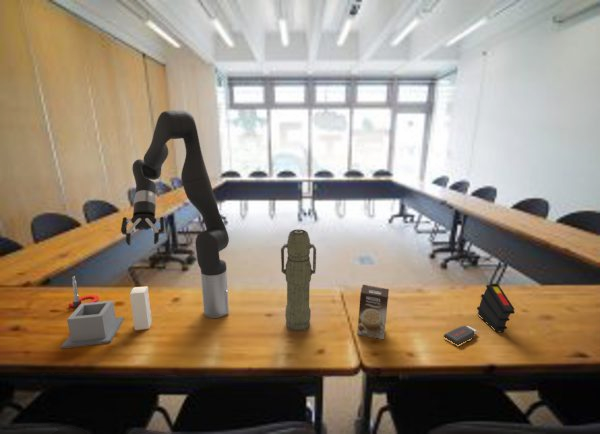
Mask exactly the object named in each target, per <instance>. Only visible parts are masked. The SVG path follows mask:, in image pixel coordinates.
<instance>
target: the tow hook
mask: <svg viewBox="0 0 600 434" xmlns="http://www.w3.org/2000/svg"><path fill="white" fill-rule="evenodd" d="M71 284H72V289H73V301H72V302H70V303H68V307H69V308H76V309H77V308H78V307H79V306H80V304H81V303H82V301H83V300H87V299H92V300H90V301H88V302H86V303H92V302H99V300H100V297H99V296H98V295H95V294H94V295H93V294H90V295H85V296H81V297H80V295H79V294H78V287H77V286H78V285H77V280H76V276H75V275H73V276H72V282H71Z"/></svg>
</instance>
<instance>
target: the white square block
mask: <svg viewBox="0 0 600 434" xmlns="http://www.w3.org/2000/svg"><path fill="white" fill-rule="evenodd" d="M129 299H130V305H131V311H132V313H131V314H132V320H133V327H134V331H140V330H149V329H150V326H151V324H152V322H153V320H152V313H151V304H150V295H149V287H148V286H147V285H146V286H137V287H135V286H134V287H133V288H132V289H131V291H130V293H129Z"/></svg>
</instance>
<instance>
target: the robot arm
mask: <svg viewBox="0 0 600 434" xmlns="http://www.w3.org/2000/svg"><path fill="white" fill-rule="evenodd" d="M194 118H195V117H194V116H193V115H192V113H191V112H190V111H189V110H164V111H162V112H161V113H160V114H159V116H158V118H157V121H156V124H155V128H154V130H153V134H152V139H151V143H150V145H149V147H148V149H146V151H145V152H146V153H144V155H143V159H140V158H138V159H136V160H135V161H134V162H133V164H132V167H131V168H132V175H133V177H134V181H135V194H134V200H133V210H132V211H133V212H132V218H127V217H125V216H124V217H123V218H122V222H121V228H120V231H121V232H120V233H121V234H122V235H124V236H126V237H125V242H126V244H127V245H128V246H131V245H132V235H133V234H134V233H136V232H137V230H139V231H143V230H144V231H147V230H151V231H152V232H153V233H154V234H153V237H154V238H153V245H158V243H159V242H160V235H163V234H165V220H164V216H161V217H156V209H157V208H156V206H157V199H156V190H157V189H156V188H157V186H156V183H155V180H158V179H159V178H160V177H161V174H162V167H163V164H164V163H165V161H166V159H167V158H168V156H169V148H168V145H167V143H168V142H169V141H170V140H178V139H179V140H180V139H183V142H184V146H185V159H184V162H183V165H182V170H181V175H180V177H181V178H180V179H181V183H182V186H183V190H184V192H185V196H186V198H187V199H188V201H189V202H190V203H191V205H192V206H193V207H194V208H195V209H196V210H197V211H198V212H199V213H200V216H201V217H202V219H203V222H204V226H205V228H206V229H204V230H203V231H200V232H199V233H198V234H197V236H196V238H195V251H196V258H197V259H196V260H197V265H198V266H199V269H200V277H201V292H202V304H203V305H202V306H203V315H204V316H205V317H206V318H209V319H219V318H223V317H224V316H228V315H229V314H230V309H229V307H230V304H229V286H228V275H227V274H228V272H227V271H228V270H227V263H226V261H225V260H223V259H220V252H221V251H223V250H225V249H226V248H227V247H228V245H229V241H230V237H229V234H228V231H227V227H226V226H225V223H224V221H223V218H222V216H221V214H220V213H221V212H220V211H219V207H218V205H217V204H218V203H217V200H216V198H215V194H214V192H213V187H212V183H211V180H210V177H209V174H208V171H207V167H206V163H205V161H204V156H203V153H202V148H201V144H200V139H199V133H198V129H197V124H196V121H195V119H194ZM130 223H132V224H131V226H130V227H129V228H128V225H129V224H130ZM156 223H158V224H159V225H160V229H158V228H157V227H156V226H155V224H156Z"/></svg>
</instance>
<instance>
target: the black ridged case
mask: <svg viewBox="0 0 600 434" xmlns="http://www.w3.org/2000/svg"><path fill="white" fill-rule="evenodd" d="M485 287H486V289H485V290H484V293H482V294H481V295H480V298H481V299H480V303H479V306H477V308H476V309H477V311H478V312H477V315H478V314H479V315H480V316H481V317H482V318H483V319H484V320H485V321H486V322H487V323H488V324H489V325H490V326H492V327H493V328H494V329H495V330H496V331H504V332H505V330H507V329H508V327H507V326H506V325H507V324H506V323H507V322H509V321H510V318H509V317H510V316H511V314H515V312H516V311H515V308H514V306H513V304H512V303H511V301H510V299H508V297H507V295H506V294H505V292H504V291H503V289H502V288H501V287H500V285H499V284H498V283H490V284H487V285H485ZM488 324H487V325H488ZM489 325H488V326H489ZM490 326H489V327H490Z"/></svg>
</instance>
